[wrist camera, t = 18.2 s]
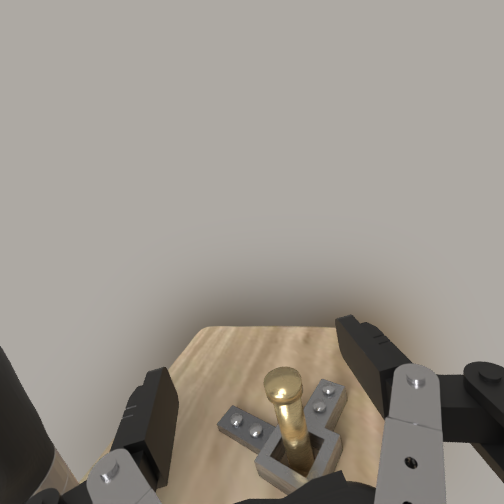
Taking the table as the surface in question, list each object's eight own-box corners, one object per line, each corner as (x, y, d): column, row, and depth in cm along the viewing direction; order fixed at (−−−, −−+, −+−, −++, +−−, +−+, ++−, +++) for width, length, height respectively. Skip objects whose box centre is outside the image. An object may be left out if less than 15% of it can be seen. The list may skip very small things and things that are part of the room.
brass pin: (279, 470, 38) (256, 387, 34) (295, 441, 42) (276, 362, 37) (309, 488, 36) (289, 401, 31) (324, 456, 39) (307, 373, 34)
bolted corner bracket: (209, 442, 45) (203, 426, 44) (267, 371, 56) (263, 356, 55) (316, 514, 33) (311, 494, 32) (361, 405, 45) (358, 388, 44)
